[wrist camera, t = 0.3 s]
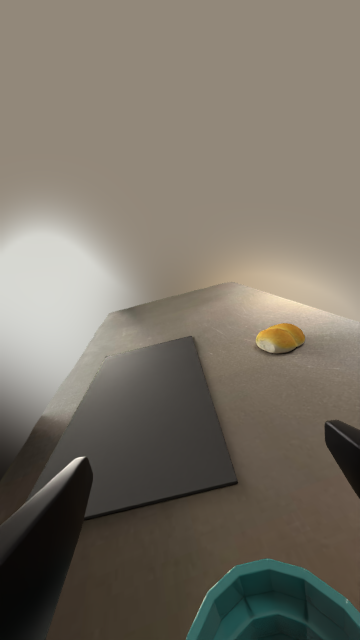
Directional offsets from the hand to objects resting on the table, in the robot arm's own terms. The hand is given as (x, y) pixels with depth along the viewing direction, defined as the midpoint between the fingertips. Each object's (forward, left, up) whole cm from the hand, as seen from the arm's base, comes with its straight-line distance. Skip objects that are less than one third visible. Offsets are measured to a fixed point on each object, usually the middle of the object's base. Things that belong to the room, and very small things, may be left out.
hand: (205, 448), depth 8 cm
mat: (+30, +10, -16) cm, 35 cm away
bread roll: (+35, -19, -17) cm, 43 cm away
